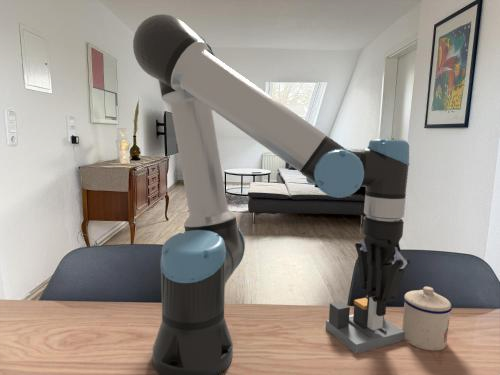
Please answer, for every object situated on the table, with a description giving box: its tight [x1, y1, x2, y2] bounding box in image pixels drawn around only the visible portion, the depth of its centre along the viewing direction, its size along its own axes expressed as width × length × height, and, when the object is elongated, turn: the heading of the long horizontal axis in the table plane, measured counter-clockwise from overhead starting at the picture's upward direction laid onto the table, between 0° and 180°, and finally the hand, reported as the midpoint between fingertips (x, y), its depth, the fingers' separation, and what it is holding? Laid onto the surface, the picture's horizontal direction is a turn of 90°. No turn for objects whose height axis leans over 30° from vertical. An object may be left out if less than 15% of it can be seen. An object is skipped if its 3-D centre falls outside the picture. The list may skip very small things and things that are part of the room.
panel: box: [325, 295, 405, 355], centre depth 75 cm, size 13×10×6 cm
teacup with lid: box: [401, 286, 453, 352], centre depth 75 cm, size 12×9×12 cm
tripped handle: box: [353, 297, 369, 329], centre depth 75 cm, size 3×3×5 cm
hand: (374, 327), depth 72 cm, fingers closed
